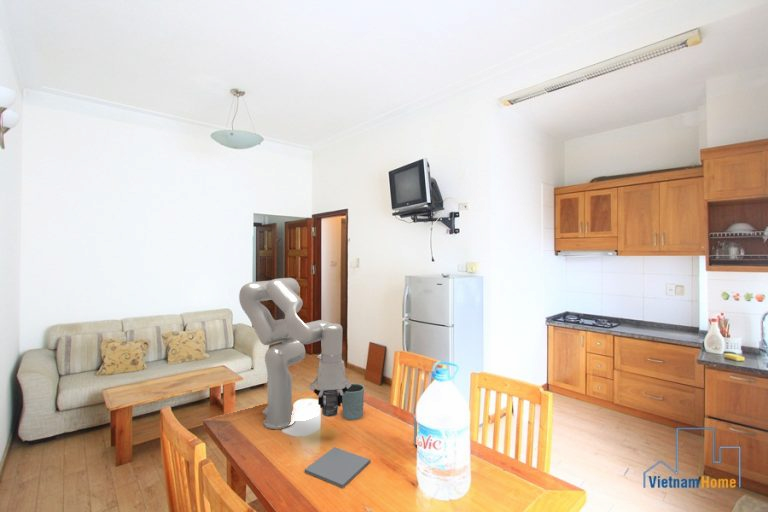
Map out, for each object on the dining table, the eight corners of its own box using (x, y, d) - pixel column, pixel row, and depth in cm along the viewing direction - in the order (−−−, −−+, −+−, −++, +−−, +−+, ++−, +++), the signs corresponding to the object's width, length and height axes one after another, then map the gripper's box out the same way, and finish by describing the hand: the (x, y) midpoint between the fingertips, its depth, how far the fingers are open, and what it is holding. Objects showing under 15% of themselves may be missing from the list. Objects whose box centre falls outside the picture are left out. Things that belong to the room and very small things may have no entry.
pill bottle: (340, 411, 134) (341, 381, 134) (334, 418, 129) (335, 387, 128) (325, 409, 136) (326, 379, 136) (319, 416, 130) (320, 385, 130)
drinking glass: (363, 421, 146) (363, 392, 146) (338, 421, 147) (338, 391, 146) (364, 410, 157) (364, 383, 156) (342, 410, 157) (342, 383, 157)
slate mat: (304, 472, 112) (304, 469, 112) (334, 449, 125) (334, 446, 125) (342, 488, 104) (342, 484, 104) (370, 462, 117) (370, 459, 117)
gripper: (308, 362, 126) (306, 412, 126) (356, 359, 130) (354, 408, 131) (307, 355, 133) (306, 403, 134) (352, 353, 138) (351, 399, 138)
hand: (330, 405), depth 132 cm, fingers closed on pill bottle, 6 cm apart
